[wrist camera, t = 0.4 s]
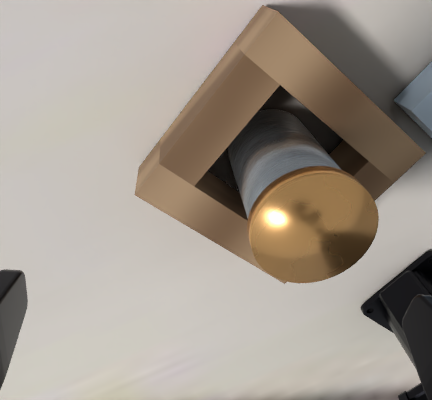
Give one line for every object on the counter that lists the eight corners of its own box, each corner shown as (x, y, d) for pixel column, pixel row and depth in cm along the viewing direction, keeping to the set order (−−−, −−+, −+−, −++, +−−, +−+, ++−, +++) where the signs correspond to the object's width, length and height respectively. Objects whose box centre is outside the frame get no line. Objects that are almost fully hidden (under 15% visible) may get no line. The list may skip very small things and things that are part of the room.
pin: (329, 140, 22) (404, 220, 15) (270, 201, 23) (313, 299, 16) (265, 86, 20) (317, 149, 13) (206, 157, 21) (224, 247, 15)
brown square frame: (395, 131, 22) (426, 152, 19) (272, 251, 25) (284, 283, 23) (262, 5, 18) (278, 11, 15) (138, 167, 21) (134, 194, 19)
